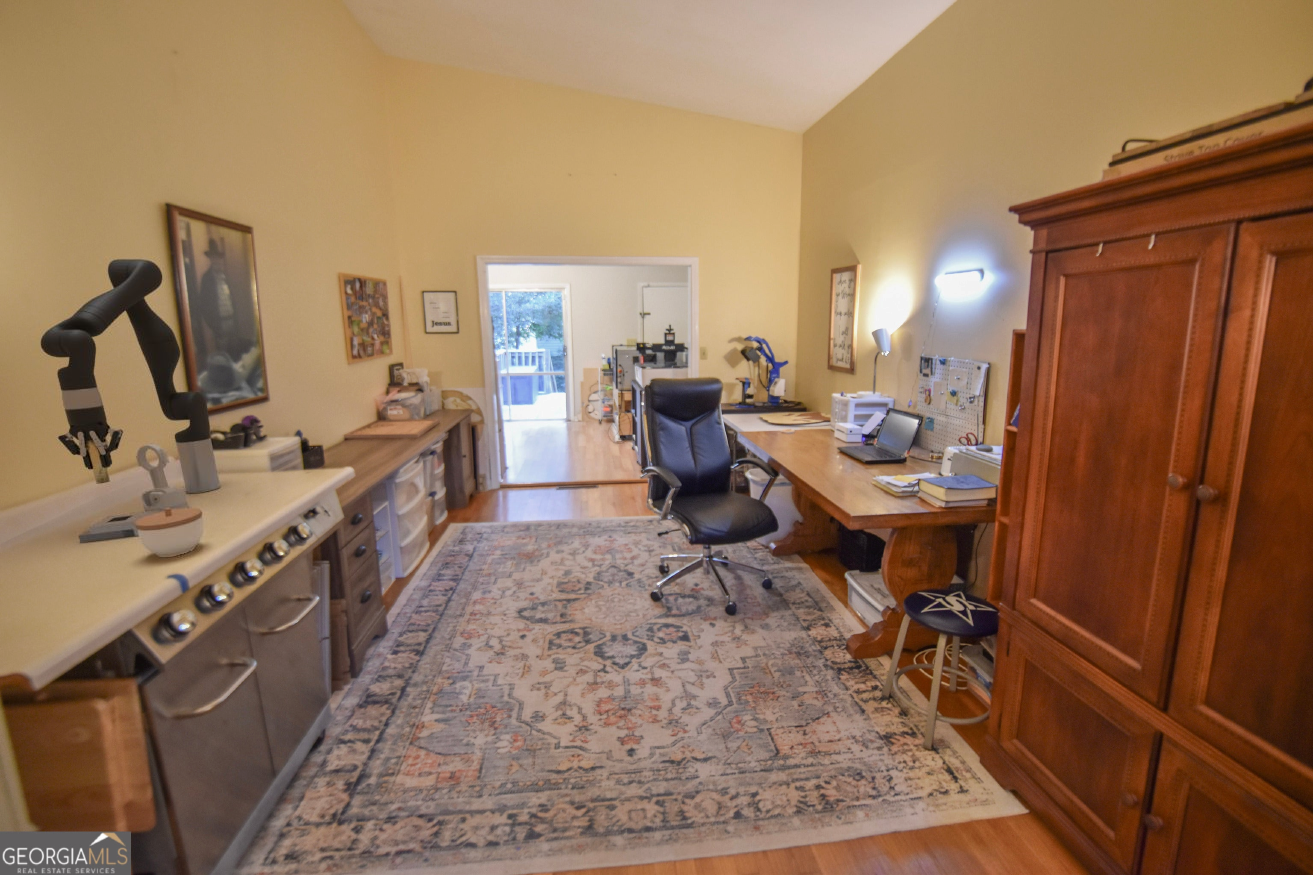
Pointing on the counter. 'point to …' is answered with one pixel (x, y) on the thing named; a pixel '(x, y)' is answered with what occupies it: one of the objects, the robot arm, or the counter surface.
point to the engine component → (159, 483)
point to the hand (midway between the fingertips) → (99, 467)
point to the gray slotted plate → (115, 527)
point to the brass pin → (97, 463)
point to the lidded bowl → (171, 531)
